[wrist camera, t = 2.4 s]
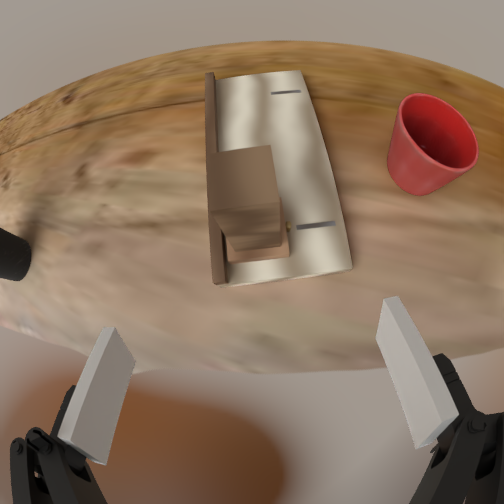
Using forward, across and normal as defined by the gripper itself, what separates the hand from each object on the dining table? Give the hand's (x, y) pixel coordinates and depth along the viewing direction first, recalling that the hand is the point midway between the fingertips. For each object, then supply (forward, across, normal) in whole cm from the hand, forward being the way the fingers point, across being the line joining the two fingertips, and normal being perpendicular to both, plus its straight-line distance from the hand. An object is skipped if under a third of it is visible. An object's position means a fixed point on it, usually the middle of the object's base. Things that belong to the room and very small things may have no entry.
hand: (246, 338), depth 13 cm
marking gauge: (+18, 0, -3) cm, 18 cm away
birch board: (+26, +3, +2) cm, 26 cm away
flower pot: (+24, +22, 0) cm, 32 cm away
